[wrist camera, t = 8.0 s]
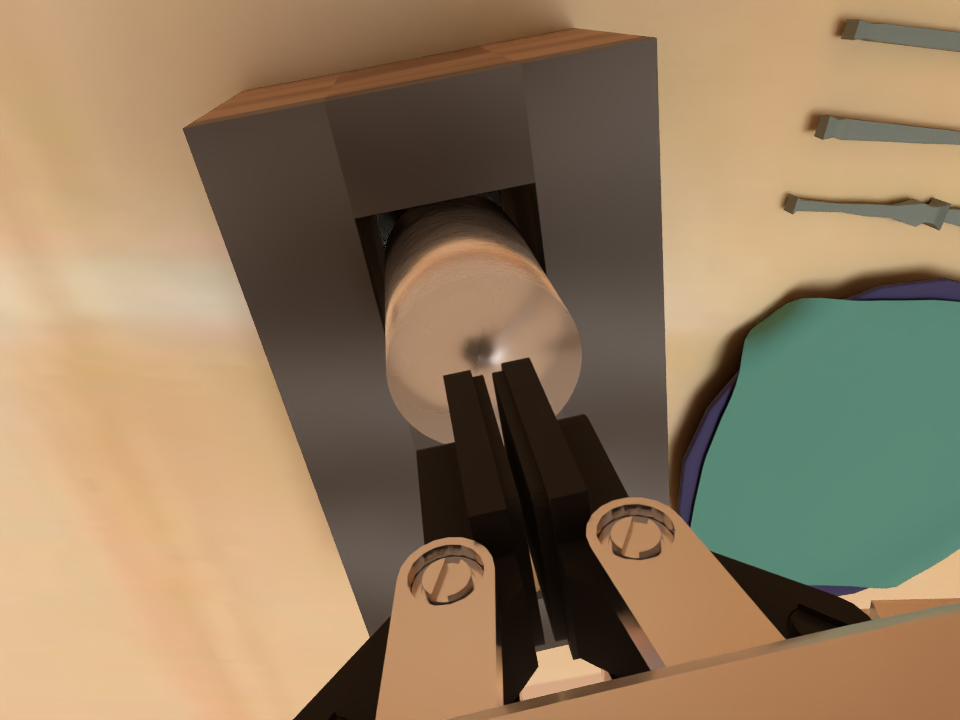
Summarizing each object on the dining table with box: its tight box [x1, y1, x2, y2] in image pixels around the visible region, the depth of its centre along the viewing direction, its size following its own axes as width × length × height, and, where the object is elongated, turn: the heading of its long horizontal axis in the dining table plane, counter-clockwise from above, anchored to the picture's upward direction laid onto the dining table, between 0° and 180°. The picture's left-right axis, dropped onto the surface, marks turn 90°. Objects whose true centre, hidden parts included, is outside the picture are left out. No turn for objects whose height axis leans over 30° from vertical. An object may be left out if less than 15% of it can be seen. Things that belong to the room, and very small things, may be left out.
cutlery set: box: [677, 19, 960, 596], centre depth 32 cm, size 20×30×2 cm, turn 174°
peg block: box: [183, 28, 670, 652], centre depth 25 cm, size 22×12×8 cm, turn 9°
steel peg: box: [384, 195, 582, 444], centre depth 18 cm, size 4×4×7 cm
